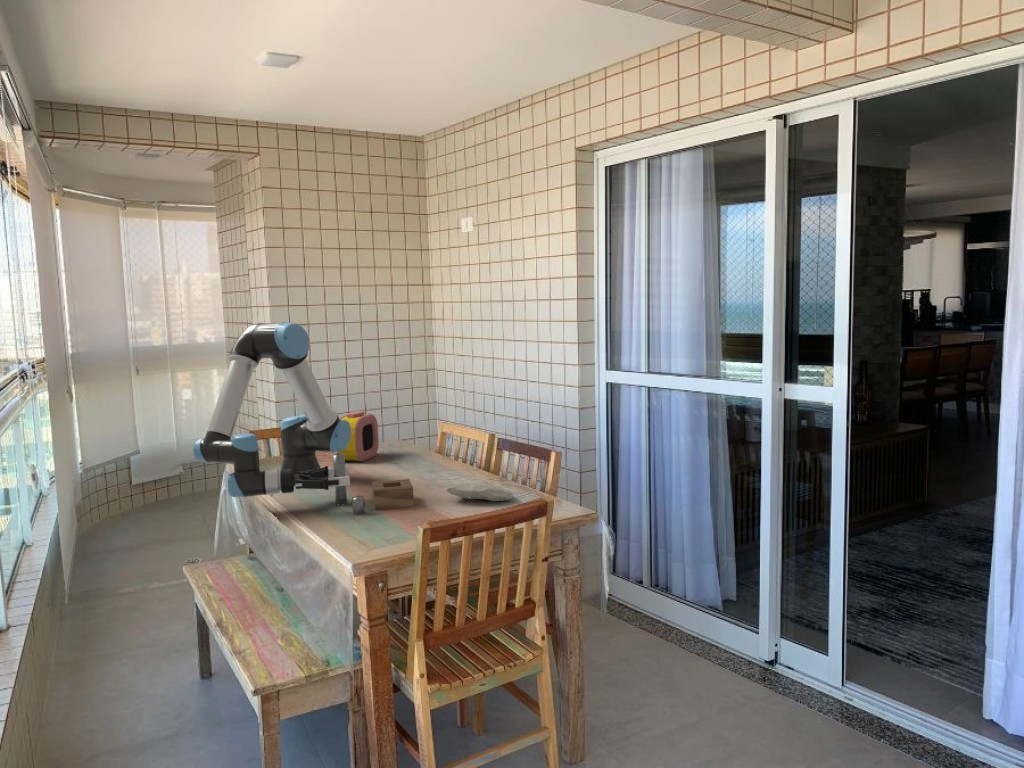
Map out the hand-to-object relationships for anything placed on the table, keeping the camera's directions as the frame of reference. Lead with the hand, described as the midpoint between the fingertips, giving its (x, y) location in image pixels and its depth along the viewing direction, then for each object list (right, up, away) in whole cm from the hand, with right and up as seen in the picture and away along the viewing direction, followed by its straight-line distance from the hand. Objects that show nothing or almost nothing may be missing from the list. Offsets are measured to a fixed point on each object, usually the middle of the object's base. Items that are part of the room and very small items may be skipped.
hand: (349, 475), depth 247 cm
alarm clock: (-11, -2, +68) cm, 69 cm away
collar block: (+14, -9, -1) cm, 17 cm away
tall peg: (-3, -9, 0) cm, 9 cm away
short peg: (+5, -10, -11) cm, 16 cm away
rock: (+40, -8, +2) cm, 41 cm away
